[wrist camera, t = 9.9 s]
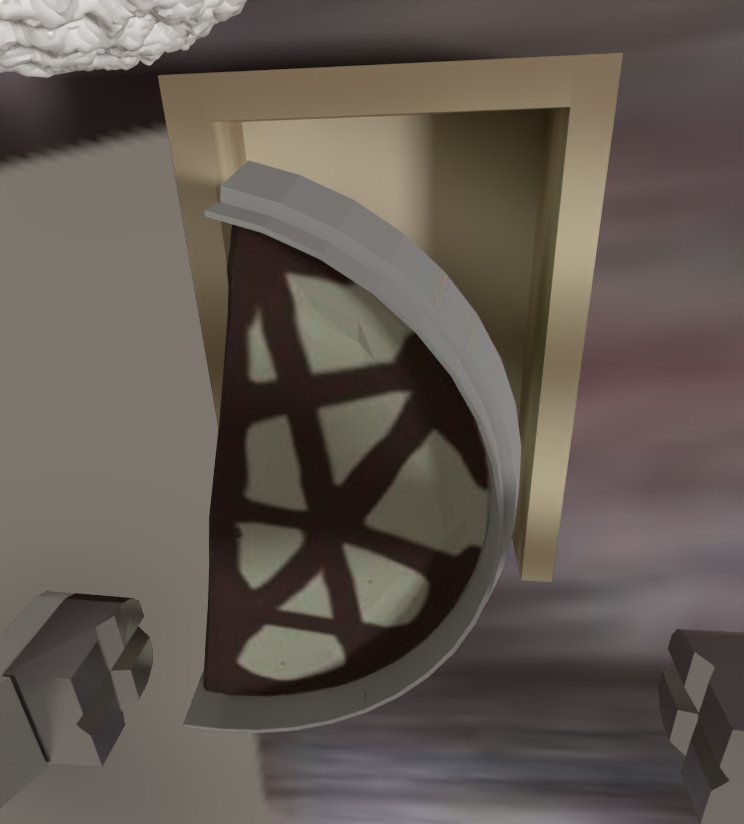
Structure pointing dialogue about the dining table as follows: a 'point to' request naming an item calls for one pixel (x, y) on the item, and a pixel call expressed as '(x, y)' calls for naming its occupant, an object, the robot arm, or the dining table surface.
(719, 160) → the dining table surface
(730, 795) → the robot arm
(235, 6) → the white bumpy round lump
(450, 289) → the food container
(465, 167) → the wooden tray
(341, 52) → the dining table surface
